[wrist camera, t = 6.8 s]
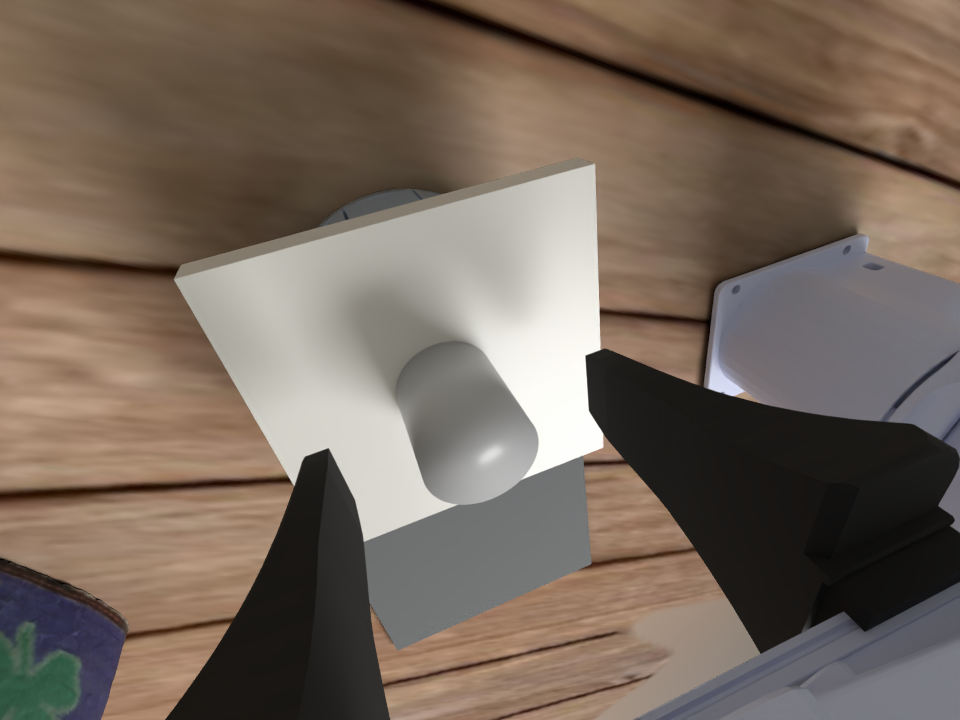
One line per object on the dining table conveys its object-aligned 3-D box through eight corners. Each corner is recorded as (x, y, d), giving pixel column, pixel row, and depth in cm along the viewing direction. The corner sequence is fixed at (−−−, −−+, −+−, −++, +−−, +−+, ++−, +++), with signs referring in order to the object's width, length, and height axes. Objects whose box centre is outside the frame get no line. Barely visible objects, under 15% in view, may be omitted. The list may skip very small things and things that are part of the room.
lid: (577, 157, 14) (679, 191, 10) (590, 432, 20) (657, 512, 17) (180, 264, 12) (135, 353, 8) (331, 532, 18) (342, 648, 15)
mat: (574, 396, 25) (578, 400, 25) (588, 559, 34) (591, 563, 33) (309, 496, 23) (310, 502, 22) (396, 644, 31) (397, 650, 31)
